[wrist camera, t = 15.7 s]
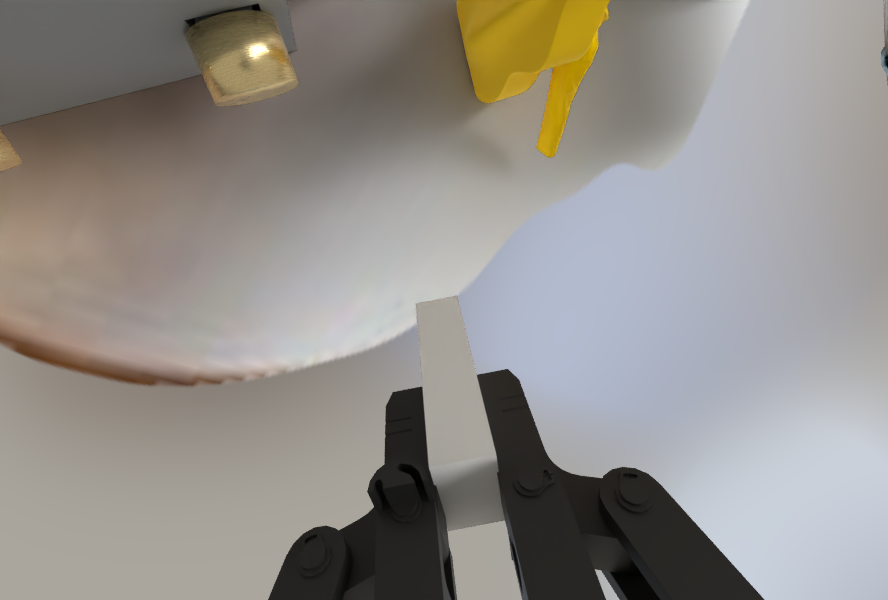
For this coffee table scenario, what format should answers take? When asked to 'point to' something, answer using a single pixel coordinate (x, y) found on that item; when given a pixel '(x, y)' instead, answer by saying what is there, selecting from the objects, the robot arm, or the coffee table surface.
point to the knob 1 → (7, 154)
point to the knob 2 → (241, 56)
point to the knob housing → (101, 48)
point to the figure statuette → (531, 51)
